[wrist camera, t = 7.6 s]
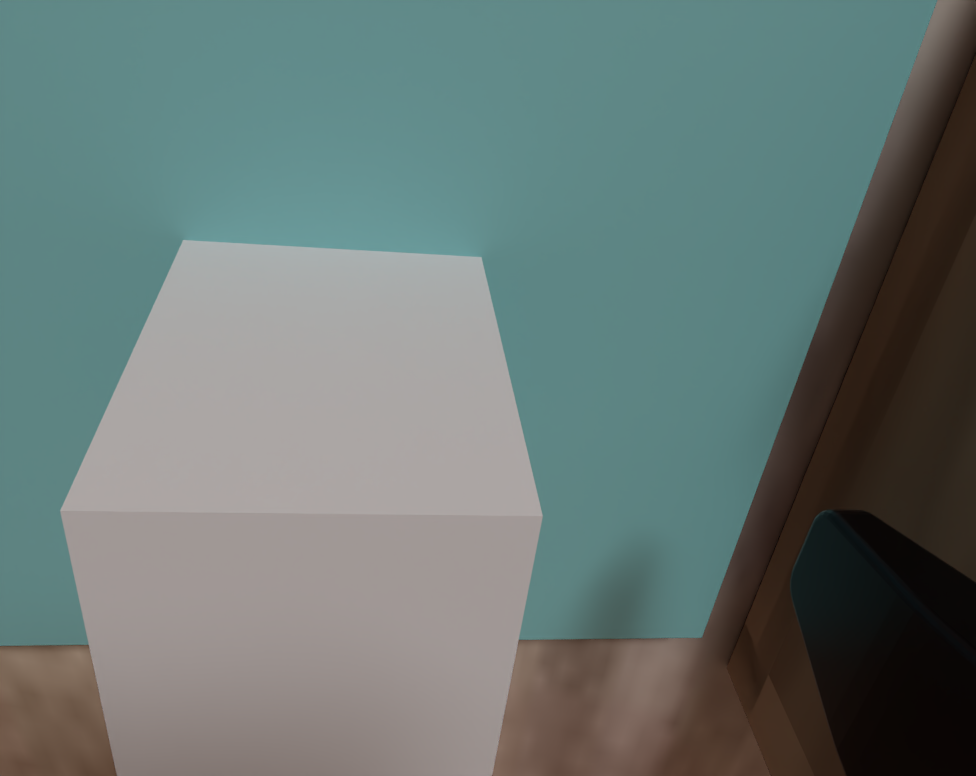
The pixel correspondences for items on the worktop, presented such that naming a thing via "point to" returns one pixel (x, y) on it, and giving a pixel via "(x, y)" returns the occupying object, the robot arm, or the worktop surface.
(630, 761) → the worktop surface
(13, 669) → the worktop surface
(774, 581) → the walnut box
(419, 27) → the cover plate
